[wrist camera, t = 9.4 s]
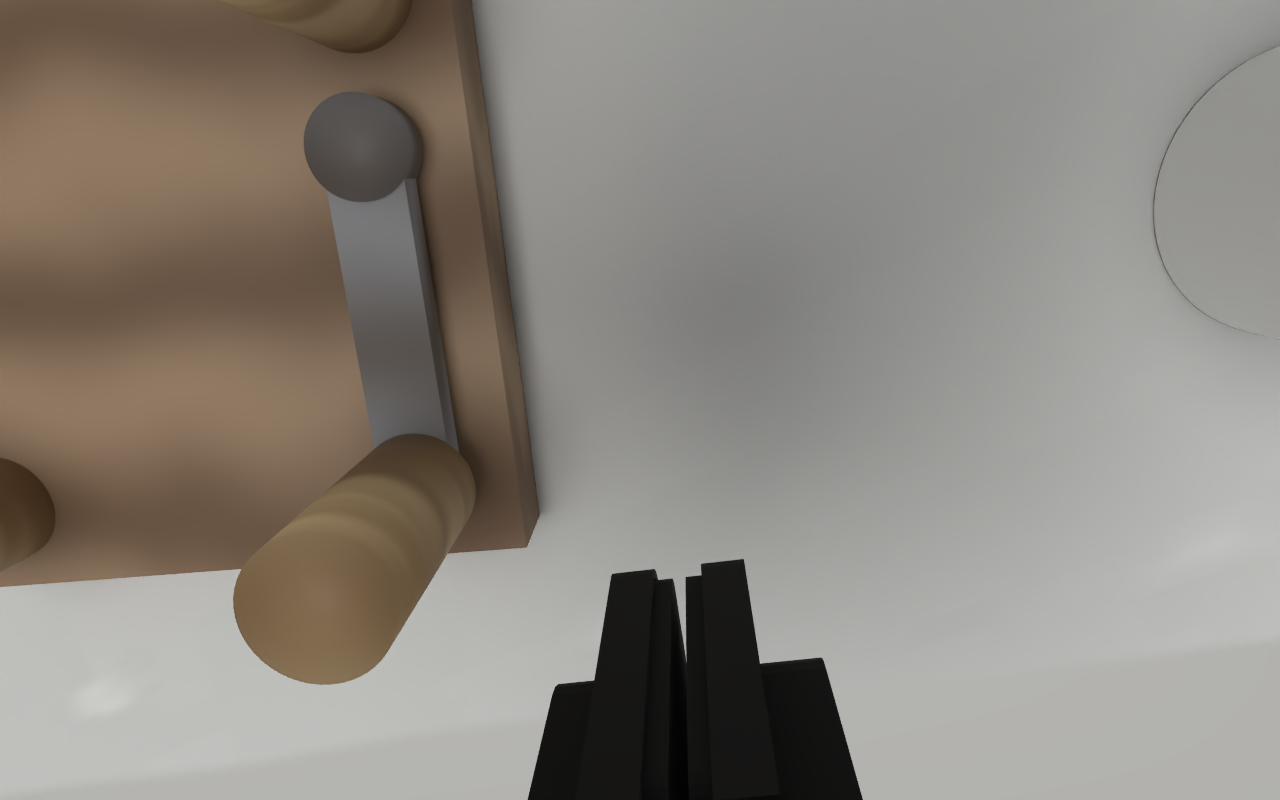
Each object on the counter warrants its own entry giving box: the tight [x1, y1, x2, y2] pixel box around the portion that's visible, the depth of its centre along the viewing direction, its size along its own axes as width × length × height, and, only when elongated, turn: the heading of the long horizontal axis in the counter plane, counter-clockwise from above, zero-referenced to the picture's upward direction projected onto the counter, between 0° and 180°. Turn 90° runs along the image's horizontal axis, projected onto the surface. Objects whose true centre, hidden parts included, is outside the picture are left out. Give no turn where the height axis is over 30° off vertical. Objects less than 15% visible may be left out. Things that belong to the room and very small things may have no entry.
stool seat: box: [0, 0, 539, 587], centre depth 20 cm, size 18×18×11 cm
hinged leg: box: [233, 91, 476, 685], centre depth 19 cm, size 12×3×8 cm, turn 6°
